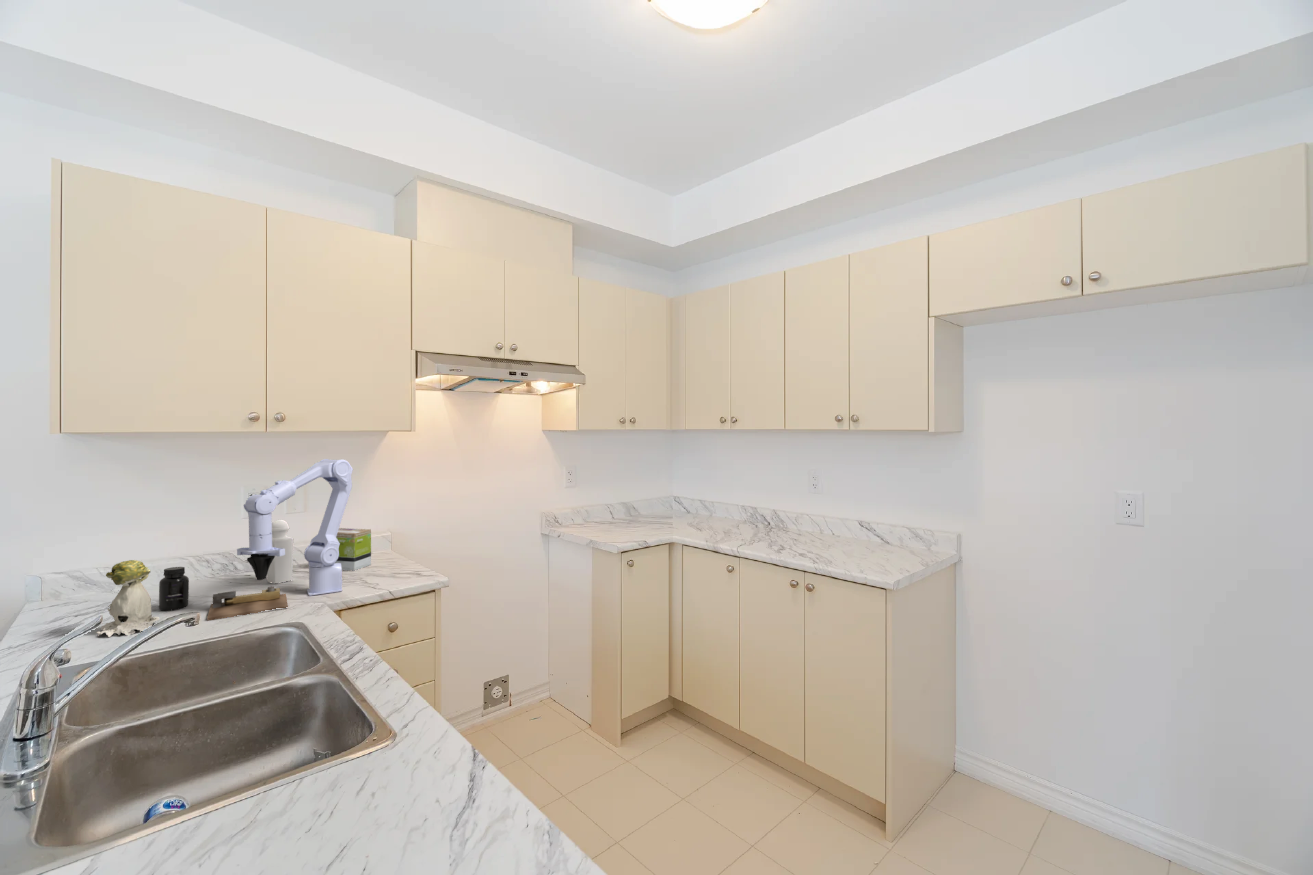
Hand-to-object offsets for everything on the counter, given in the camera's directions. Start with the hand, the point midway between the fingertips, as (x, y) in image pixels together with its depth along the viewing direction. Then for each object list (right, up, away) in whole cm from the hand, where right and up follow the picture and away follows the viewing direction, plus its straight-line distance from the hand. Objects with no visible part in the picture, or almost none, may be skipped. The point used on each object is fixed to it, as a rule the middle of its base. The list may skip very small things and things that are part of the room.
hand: (261, 579), depth 171 cm
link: (-5, -8, +4) cm, 10 cm away
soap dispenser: (-15, -9, +30) cm, 34 cm away
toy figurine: (-23, -9, -19) cm, 31 cm away
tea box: (-2, -8, +51) cm, 52 cm away
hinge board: (-4, -9, 0) cm, 9 cm away
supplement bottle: (-26, -9, 0) cm, 28 cm away
